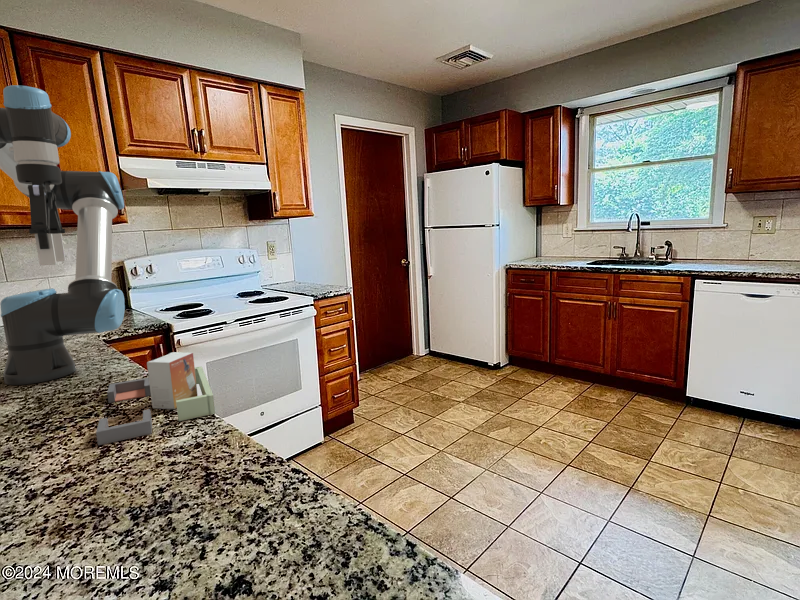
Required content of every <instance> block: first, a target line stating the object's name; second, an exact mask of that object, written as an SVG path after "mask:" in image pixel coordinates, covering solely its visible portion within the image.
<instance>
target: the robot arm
mask: <svg viewBox="0 0 800 600" xmlns="http://www.w3.org/2000/svg"><path fill="white" fill-rule="evenodd" d="M2 93H3V103H2V104H3V106H4V107H0V170H1V171H2V172H4V174H6V175H7V177H9V178H11V179H12V181H13V184H14V186H15V187H16V189H18V191H19V192H21V193H22V194H23V195H24V196H26V197H27V198H29V210H30V211H29V212H30V213H29V214H30V228H28V232H29V233H28V234H30V235H33V234H34V238H35V246H36V250H37V256H38V262H39V266H55V265H57V262H66V260H67V259H66V253H65V247H64V241H63V240H64V239H63V234H66V229H65V228H63V226H62V223H61V219H60V214H59V210H60V209H61V210H72V211H73V213H74V214H75V215H77V232H76V233H77V234H76V256H75V257H76V259H75V274H74V275H75V279H74V280H73V281H71V282H70V283H69V284H68V285H67V292H62V293H57V290H56V289H55V288H45V289H39V290H33V291H28V292H21V293H17V294H12V295H9V296H8V295H7V296H6V297H4V298H2V299H1V301H0V317H1V320H2V321H1V322H2V325H3V330H4V336H5V340H6V341H5V342H6V346H7V352H8V355H7V358H6V362H5V366H4V371H3V381H4V384H6V385H11V386H21V385H32V384H39V383H43V382H44V383H45V382H49V381H52V380H57V379H59V378H63V377H66V376H68V375H71V374H73V373H74V372H76V361H74V359H73V357H72V355H71V354H70V352H69V350H68V349H67V347H66V345H65V343H64V336H72V335H73V336H75V335H85V334H86V335H87V334H95V333H99V334H101V333H102V334H103V333H105V332H110V331H111V332H112V331H116V330H117V329H119V328H120V326H121V325H122V324H123V320H124V316H125V309H126V305H125V303H126V302H125V296H124V295H125V294H124V293H123V291H122V290H121V289H119V288H118V286H117V284H116V283H115V282H113V280H112V274H113V273H112V263H113V262H112V257H113V256H112V255H113V254H112V253H113V252H112V251H113V249H112V248H113V246H112V245H113V240H112V239H113V219H115V218H116V217H117V216H118V214H119V213H118V212H119V210H123V209H125V200H124V196H123V192H122V188H121V185H120V182H119V179H118V177H117V176H116V174H115V173H113V172H111V171H101V170H98V171H81V170H78V171H77V170H61V168H60V167H59V166H58V165H59V164H60V156H59V150H58V148H62V147H64V146H66V145H68V144H69V142H70V140H71V137H72V132H71V129H70V126H69V124H68V123H67V122H66V121H65V119H63V118H62V117H61V116H60V115H58V114H56V113H54V112H53V111H52V104H51V101H50V97H49V95H48V93H47V92H46V91H44V90H43V89H40V88H37V87H32V86H28V85H18V84H17V85H16V84H15V85H13V84H12V85H7V86H5V87H4V88H3V91H2Z"/></svg>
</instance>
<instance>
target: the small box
mask: <svg viewBox="0 0 800 600" xmlns="http://www.w3.org/2000/svg"><path fill="white" fill-rule="evenodd" d="M194 358H195V357H194V353H193V352H180V351H176V352H175V351H173V352H169V353H168V354H166V355H163V356H160V357H158V358H155V359H152V360H149V361H147V362H146V367H147V374H148V378H149V384H150V392H151V396H150V399H151V406H152V409H159V410H160V409H162V410H177V404H176V400H181V399H186V398H191V397H196V396H198V387H197V384H196V376H195V367H196V366H195V360H194Z"/></svg>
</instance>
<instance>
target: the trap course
mask: <svg viewBox="0 0 800 600" xmlns="http://www.w3.org/2000/svg"><path fill="white" fill-rule="evenodd" d="M194 367H195V376H196V385H199V390H200V392H201V395H197V396H196V397H191V398H186V399H181V400H176V404H177V408H176V410H177V411H176V412H177V420H178V422H181V421H186V420H191V419H195V418H200V417H205V416H208V415H214V414H216V409H215V398H214V394H213V391H212V388H211V386H210V384H209V380H208V379H207V376H206V373H205V371H204V369H203V366H194ZM106 393H107V400H108V404H112V403H117V402H123V400H124V401H128V400H134V399H139V398H144V397H151V392H150V384H149V377H145V378H144V377H143V378H138V379H137V378H136V379H132V380H131V379H130V380H126V381H125V380H124V381H120V382H119V381H118V382H114V383H109V384H108V389H107V392H106ZM152 419H153V418H152V413H151V408H148V409H144V410H142V420H138V421H133V422H128V423H124V424H119V425H118V424H117V425H114V426H110V427H109V421H108V420H109V419H108V417H103V418H99V421H98V424H97V428H96V432H95V435H96V443H97V446H102V445H107V444H111V443H115V442H119V441H123V440H124V441H125V440H129V439H134V438H137V437H141V436H147V435H151V434H152V433H153V431H152V429H153V424H152V423H153V420H152Z"/></svg>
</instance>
